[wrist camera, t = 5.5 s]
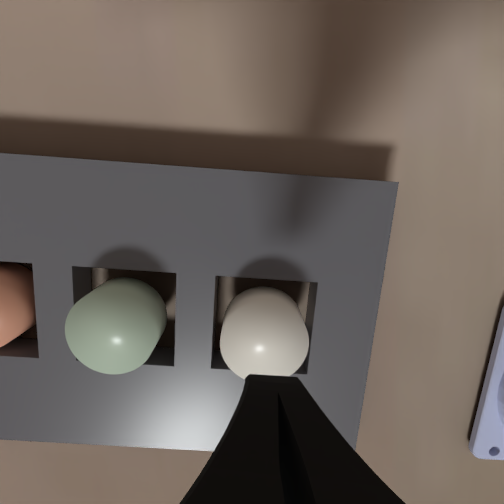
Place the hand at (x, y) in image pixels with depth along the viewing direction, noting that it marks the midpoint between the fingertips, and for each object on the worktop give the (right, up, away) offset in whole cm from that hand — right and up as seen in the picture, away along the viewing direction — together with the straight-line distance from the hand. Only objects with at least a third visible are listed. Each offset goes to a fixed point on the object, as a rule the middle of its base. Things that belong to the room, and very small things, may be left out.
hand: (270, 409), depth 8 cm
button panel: (-5, +2, +6) cm, 8 cm away
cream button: (0, +1, +5) cm, 5 cm away
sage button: (-5, +2, +5) cm, 8 cm away
